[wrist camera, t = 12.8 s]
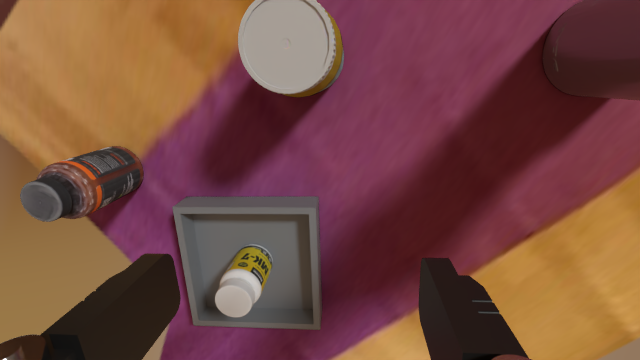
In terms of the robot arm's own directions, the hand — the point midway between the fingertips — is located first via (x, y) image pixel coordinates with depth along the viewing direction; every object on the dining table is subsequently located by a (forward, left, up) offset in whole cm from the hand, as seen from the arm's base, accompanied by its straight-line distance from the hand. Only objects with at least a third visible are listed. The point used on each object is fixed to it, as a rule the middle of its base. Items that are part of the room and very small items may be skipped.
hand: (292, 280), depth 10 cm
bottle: (+2, -8, -28) cm, 29 cm away
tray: (+10, +16, -28) cm, 33 cm away
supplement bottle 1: (+26, +4, -28) cm, 38 cm away
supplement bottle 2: (+10, +16, -27) cm, 33 cm away
